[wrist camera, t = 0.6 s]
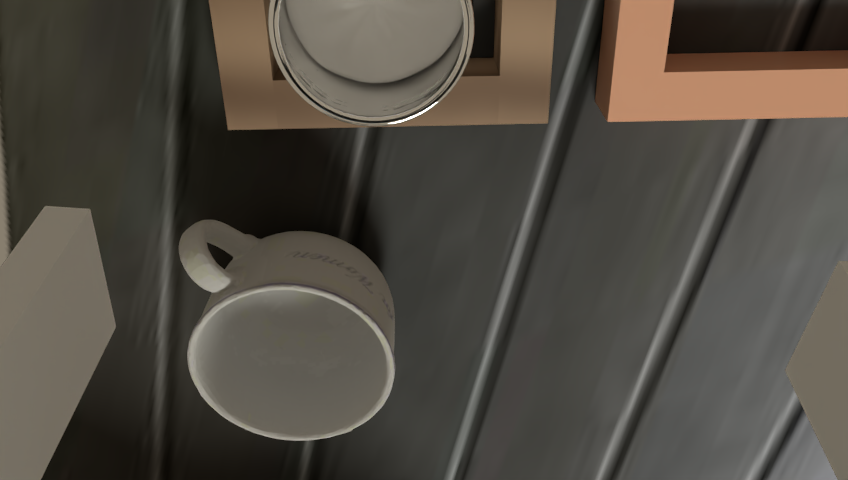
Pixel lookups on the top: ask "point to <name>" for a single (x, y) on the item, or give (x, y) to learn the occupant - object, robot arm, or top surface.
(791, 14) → the top surface
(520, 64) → the walnut holder
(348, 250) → the teacup
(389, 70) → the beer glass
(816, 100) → the terracotta holder
